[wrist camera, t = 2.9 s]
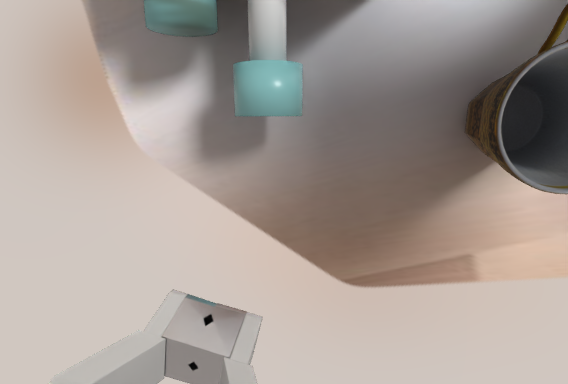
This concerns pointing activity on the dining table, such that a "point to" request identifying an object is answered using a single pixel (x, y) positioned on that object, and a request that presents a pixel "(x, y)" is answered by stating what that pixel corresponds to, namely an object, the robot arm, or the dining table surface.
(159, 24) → the block
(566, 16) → the ceramic cup
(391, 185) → the dining table surface
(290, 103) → the knob
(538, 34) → the dining table surface
